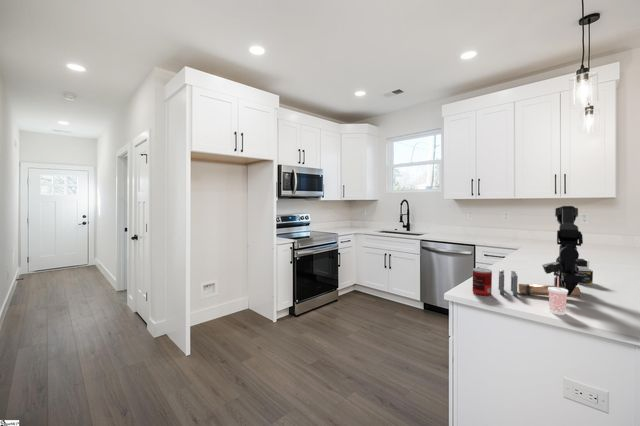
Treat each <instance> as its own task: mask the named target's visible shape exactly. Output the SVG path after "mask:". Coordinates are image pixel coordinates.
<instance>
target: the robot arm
mask: <svg viewBox="0 0 640 426" xmlns="http://www.w3.org/2000/svg"><path fill="white" fill-rule="evenodd" d="M554 210H555V211H554V213H555V215H554V217H556V222H557V223H558V224H559V228H558V230H557V231H556V244H557V245H559V253H558V254H559V255H558V256H557V258H556V260H555V262H554V261H553V262H548V263H544V264H541V265H542V268H543V271H544V273H545V274H551V273H553V276H554V277H553V279H554V281H553V283H554V284H553V286H557V276H559V286H565V289H567V290H568V293H567V295H571V293H572V292H573V290H574V289H575V287H578V285H579V284H578V283H583V278H582V277H581V276H580V275H579V268H578V266H577V265H576V264H578V261H577V259H579V256H580V253H579V251H578V247H582V245H583V244H584V241H583V240H584V239H583V233H582V232H581V231H579V226H578V225H576V224H575V222H576V221H577V220H576V219H577V218H578V216H579V208H578V207H575V206H573V205H562V206H559V207H555V209H554Z"/></svg>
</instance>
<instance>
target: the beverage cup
mask: <svg viewBox="0 0 640 426" xmlns="http://www.w3.org/2000/svg"><path fill="white" fill-rule="evenodd" d="M548 291H549V296H548V307H549V313H552V314H553V315H554V314H555V315H560V316H562V315H563V316H564V315H566V306H567V298H568V297H567V293H568V290H567V289H564V288H559V276H557V287H548Z"/></svg>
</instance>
